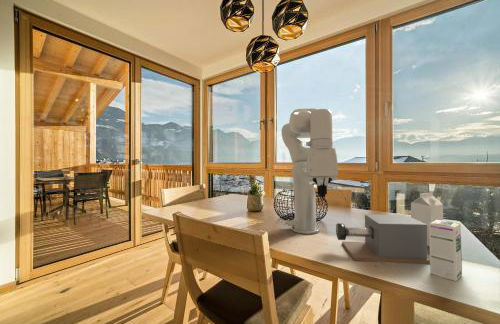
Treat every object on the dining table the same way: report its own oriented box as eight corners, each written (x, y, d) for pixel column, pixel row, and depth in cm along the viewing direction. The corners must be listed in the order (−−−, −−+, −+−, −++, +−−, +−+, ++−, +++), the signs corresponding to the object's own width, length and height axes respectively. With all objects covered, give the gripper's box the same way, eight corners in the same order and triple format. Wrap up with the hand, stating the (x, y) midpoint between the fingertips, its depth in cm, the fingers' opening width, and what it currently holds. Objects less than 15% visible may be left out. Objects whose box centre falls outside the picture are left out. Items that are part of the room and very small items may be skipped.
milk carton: (410, 240, 87) (410, 192, 87) (422, 238, 90) (422, 191, 89) (431, 247, 81) (430, 195, 80) (443, 244, 83) (443, 193, 83)
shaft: (340, 242, 76) (339, 226, 76) (336, 236, 82) (335, 221, 82) (397, 244, 74) (397, 227, 74) (389, 238, 79) (389, 222, 79)
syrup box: (456, 282, 58) (456, 227, 58) (429, 273, 63) (428, 222, 63) (462, 275, 62) (462, 223, 62) (435, 267, 67) (435, 218, 66)
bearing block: (354, 260, 72) (353, 224, 71) (342, 243, 85) (341, 213, 85) (432, 263, 68) (432, 225, 68) (407, 245, 82) (406, 214, 82)
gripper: (300, 144, 76) (301, 198, 76) (346, 143, 74) (347, 198, 74) (298, 146, 84) (299, 194, 84) (340, 145, 82) (341, 194, 82)
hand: (322, 196), depth 79 cm, fingers closed
